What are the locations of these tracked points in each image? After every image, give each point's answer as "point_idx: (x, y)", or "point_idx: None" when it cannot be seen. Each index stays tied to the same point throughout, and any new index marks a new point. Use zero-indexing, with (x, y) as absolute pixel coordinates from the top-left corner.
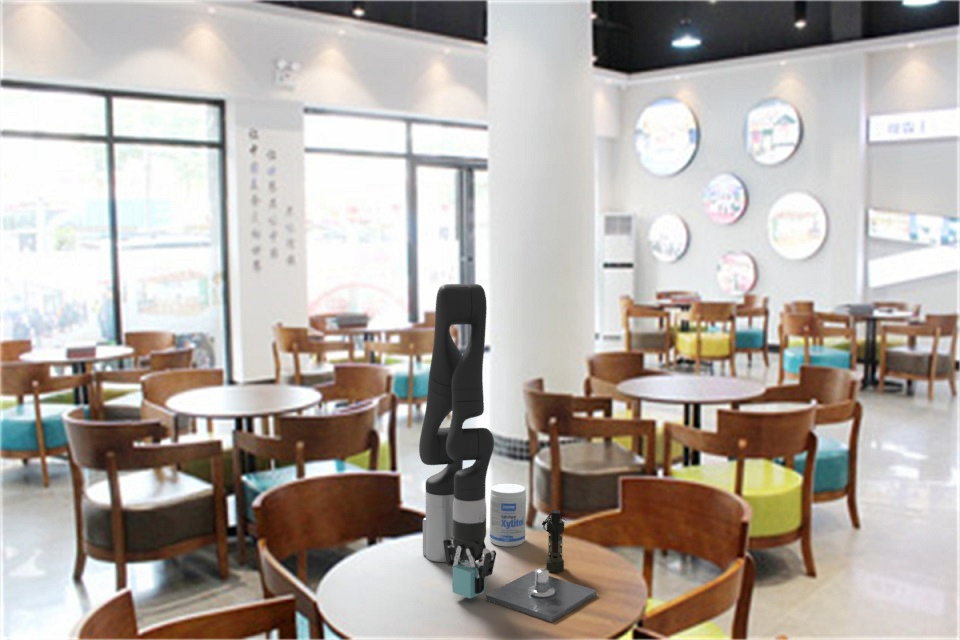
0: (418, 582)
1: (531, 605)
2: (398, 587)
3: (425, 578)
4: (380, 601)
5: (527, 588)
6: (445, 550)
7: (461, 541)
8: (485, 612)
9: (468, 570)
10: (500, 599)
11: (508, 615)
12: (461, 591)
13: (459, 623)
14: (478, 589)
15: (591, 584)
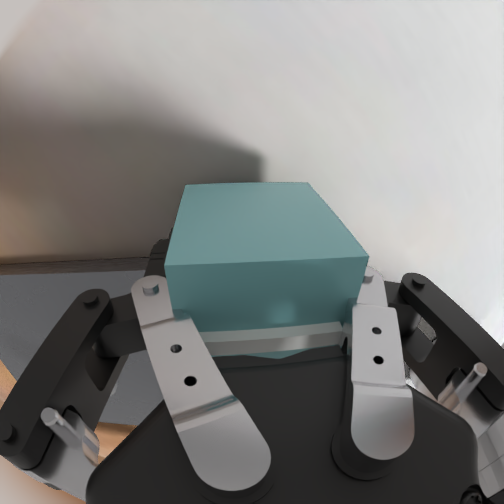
0: (463, 211)
1: (16, 299)
2: (491, 145)
3: (455, 246)
4: (479, 24)
5: (124, 372)
6: (481, 335)
7: (392, 502)
8: (90, 169)
9: (210, 283)
10: (101, 273)
11: (26, 215)
12: (250, 190)
13: (99, 14)
14: (166, 245)
15: (96, 428)
